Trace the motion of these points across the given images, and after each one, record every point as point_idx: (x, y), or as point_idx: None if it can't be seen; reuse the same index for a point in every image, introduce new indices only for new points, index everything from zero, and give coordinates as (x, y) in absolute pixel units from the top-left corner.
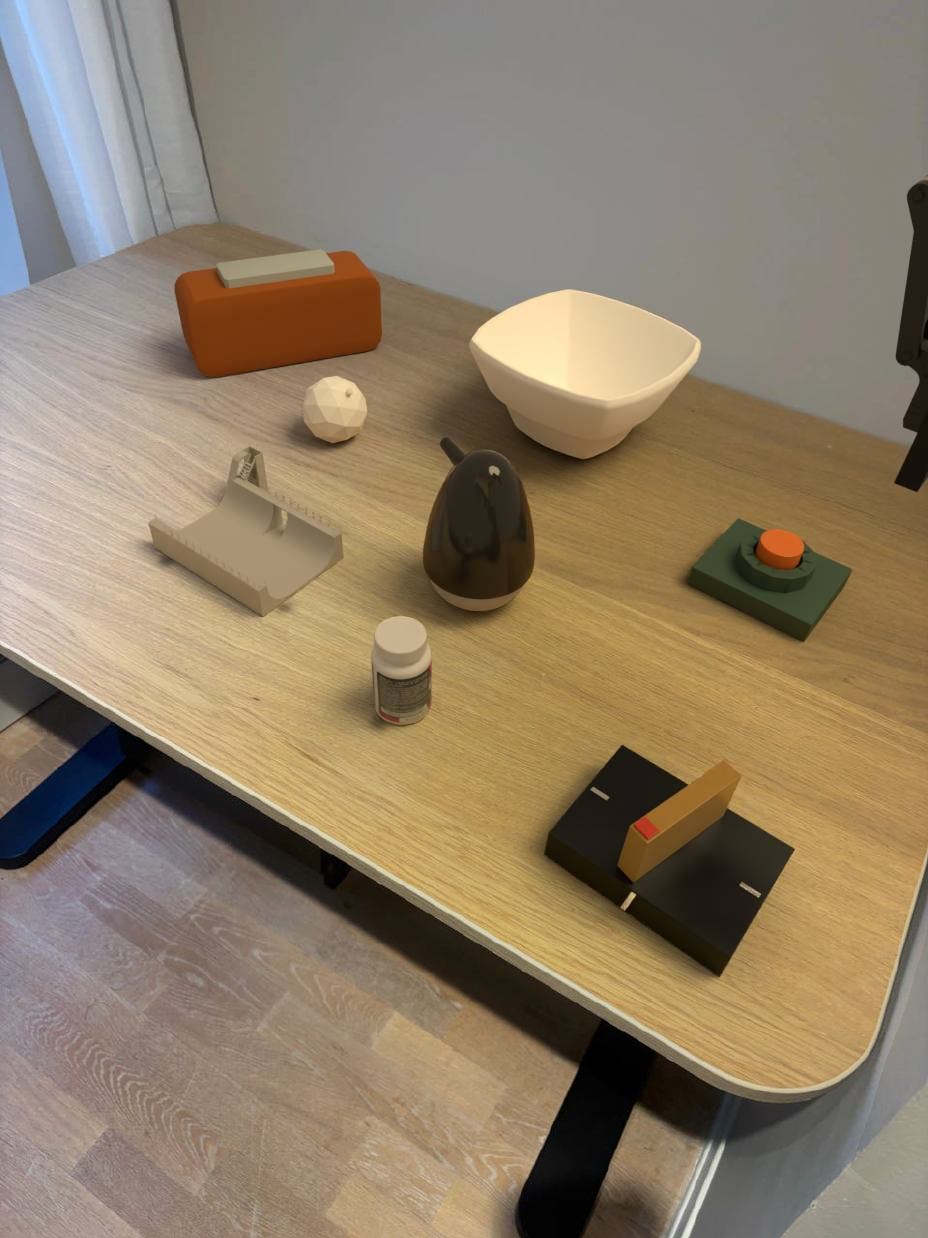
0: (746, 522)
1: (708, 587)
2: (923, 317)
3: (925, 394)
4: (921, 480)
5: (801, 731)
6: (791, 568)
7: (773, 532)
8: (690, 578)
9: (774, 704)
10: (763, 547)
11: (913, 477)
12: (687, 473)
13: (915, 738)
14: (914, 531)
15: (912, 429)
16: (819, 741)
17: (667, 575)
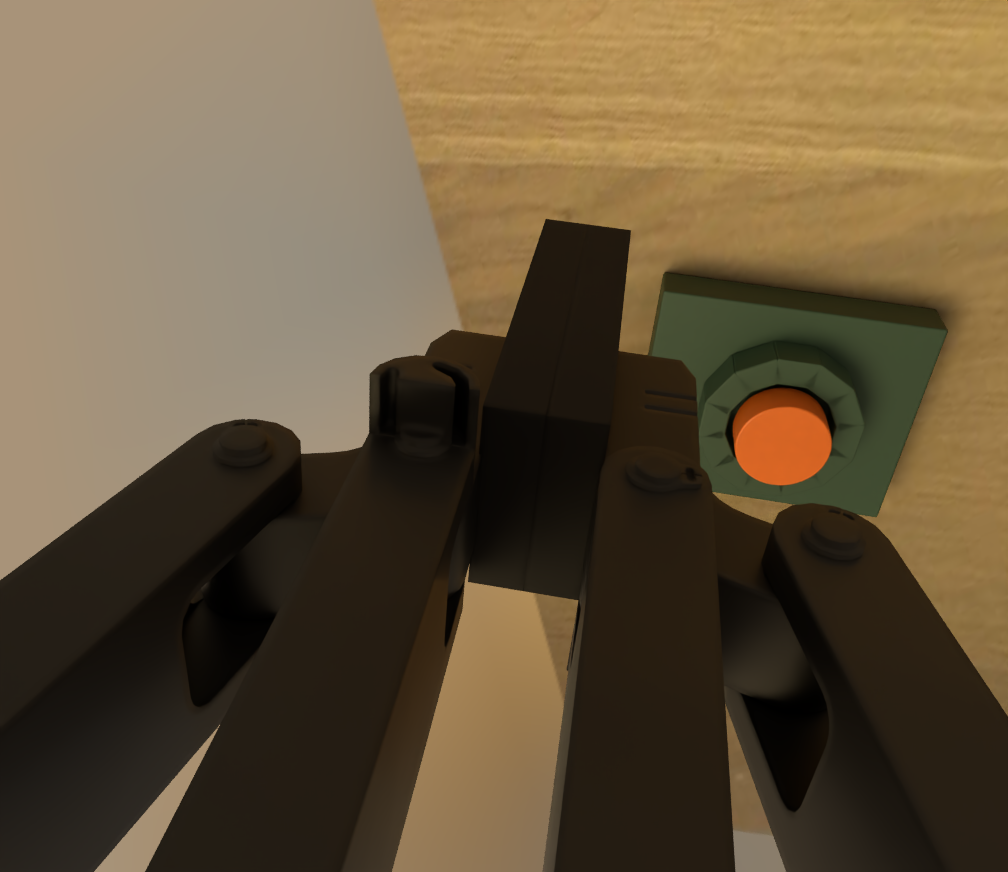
0: (857, 511)
1: (891, 309)
2: (872, 722)
3: (652, 443)
4: (545, 235)
5: (608, 23)
6: (742, 405)
7: (807, 468)
8: (936, 315)
9: (677, 66)
10: (818, 416)
11: (574, 239)
12: (999, 617)
13: (416, 139)
14: (551, 634)
15: (643, 356)
16: (569, 18)
17: (984, 312)
